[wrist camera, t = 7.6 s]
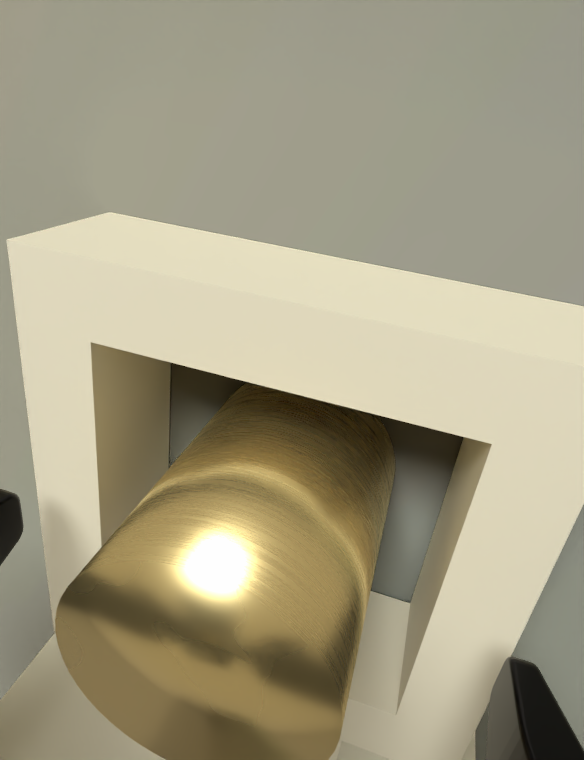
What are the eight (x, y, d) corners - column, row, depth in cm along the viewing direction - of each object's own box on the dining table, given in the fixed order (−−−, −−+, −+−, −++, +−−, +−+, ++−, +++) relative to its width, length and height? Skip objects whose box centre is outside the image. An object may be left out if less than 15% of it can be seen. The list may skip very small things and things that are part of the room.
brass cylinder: (374, 552, 14) (316, 822, 8) (210, 502, 14) (65, 719, 9) (414, 398, 12) (370, 628, 6) (221, 351, 12) (41, 520, 7)
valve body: (664, 322, 10) (1088, 780, 3) (410, 860, 19) (377, 1261, 12) (65, 203, 12) (-436, 311, 5) (101, 732, 21) (-66, 1010, 15)
